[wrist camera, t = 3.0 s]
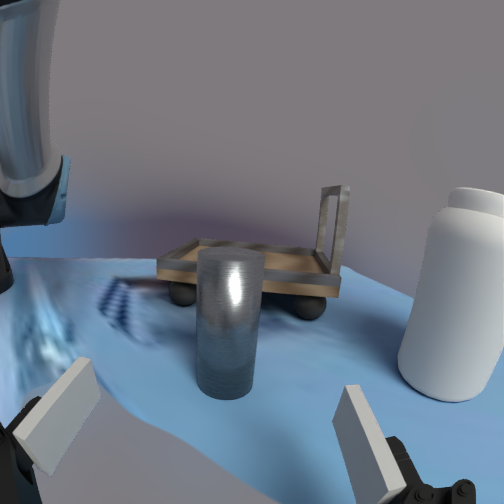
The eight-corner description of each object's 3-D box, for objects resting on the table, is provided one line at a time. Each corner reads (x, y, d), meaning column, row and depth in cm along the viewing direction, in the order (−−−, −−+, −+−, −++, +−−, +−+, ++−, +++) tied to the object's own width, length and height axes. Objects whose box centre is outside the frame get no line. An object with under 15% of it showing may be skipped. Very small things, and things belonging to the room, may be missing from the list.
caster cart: (158, 309, 36) (159, 172, 32) (194, 273, 54) (198, 178, 50) (331, 328, 35) (353, 186, 31) (315, 285, 52) (326, 188, 48)
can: (386, 343, 31) (417, 183, 26) (462, 347, 27) (496, 203, 23) (406, 407, 19) (466, 176, 14) (498, 400, 16) (557, 209, 11)
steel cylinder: (191, 394, 21) (188, 258, 18) (204, 363, 26) (207, 244, 23) (249, 403, 20) (263, 265, 18) (254, 370, 25) (266, 250, 23)
